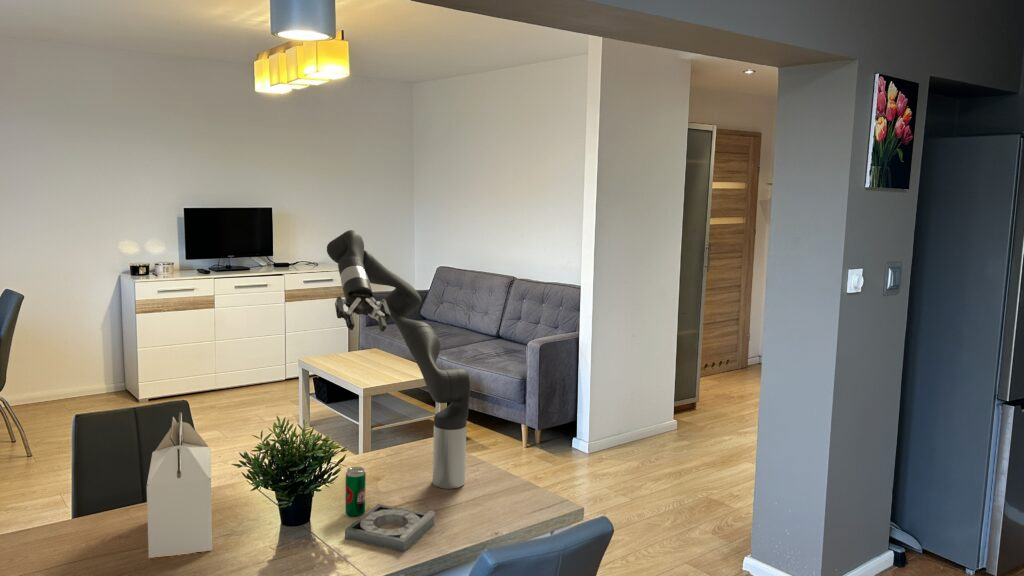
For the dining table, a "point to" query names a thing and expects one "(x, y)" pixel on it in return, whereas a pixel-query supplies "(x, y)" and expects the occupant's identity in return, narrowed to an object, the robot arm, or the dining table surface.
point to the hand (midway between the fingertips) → (367, 328)
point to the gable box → (179, 493)
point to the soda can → (355, 491)
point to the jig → (390, 539)
